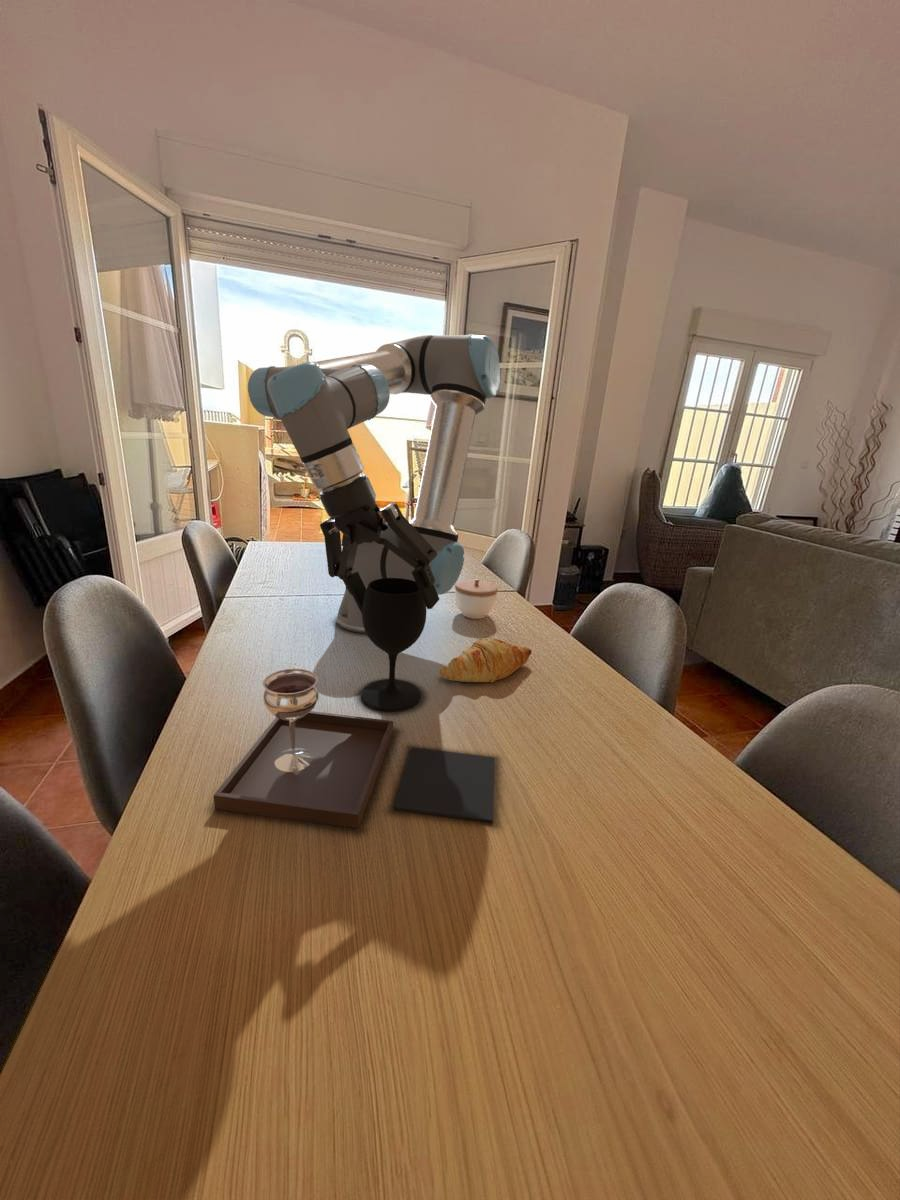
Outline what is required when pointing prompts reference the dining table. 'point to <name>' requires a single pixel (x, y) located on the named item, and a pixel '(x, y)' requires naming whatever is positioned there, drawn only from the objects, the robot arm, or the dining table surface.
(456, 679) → the croissant
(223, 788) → the tray
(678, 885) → the dining table surface
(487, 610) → the trinket box
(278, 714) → the wineglass
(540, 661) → the dining table surface
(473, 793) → the mat
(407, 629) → the wine glass
